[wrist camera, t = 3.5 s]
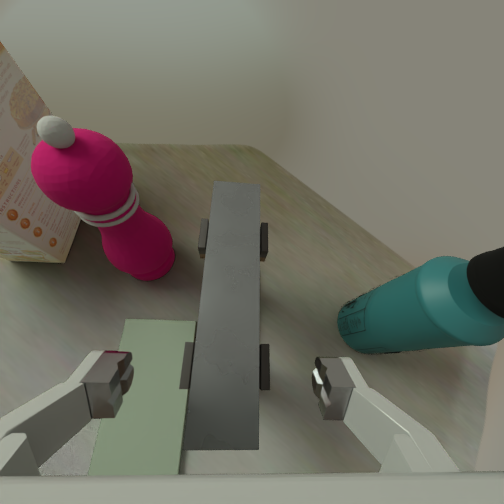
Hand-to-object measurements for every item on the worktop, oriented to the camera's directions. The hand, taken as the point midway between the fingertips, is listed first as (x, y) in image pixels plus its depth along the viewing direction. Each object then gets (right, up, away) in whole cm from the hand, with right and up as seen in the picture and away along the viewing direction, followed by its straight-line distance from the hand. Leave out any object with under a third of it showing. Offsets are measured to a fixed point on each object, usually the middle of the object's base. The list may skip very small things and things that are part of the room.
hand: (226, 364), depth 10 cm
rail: (0, +2, +7) cm, 7 cm away
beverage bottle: (+14, -5, +20) cm, 25 cm away
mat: (-10, -11, +14) cm, 20 cm away
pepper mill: (-12, +4, +21) cm, 25 cm away
